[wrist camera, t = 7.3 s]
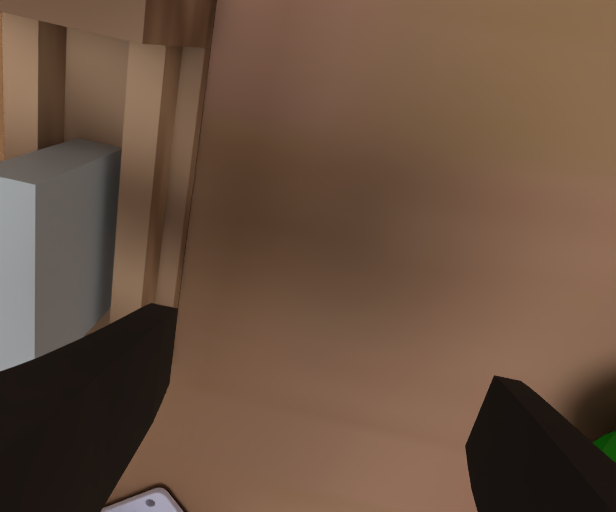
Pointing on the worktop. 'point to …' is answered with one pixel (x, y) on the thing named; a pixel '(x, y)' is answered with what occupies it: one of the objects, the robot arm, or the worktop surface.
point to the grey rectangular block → (56, 245)
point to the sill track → (117, 116)
